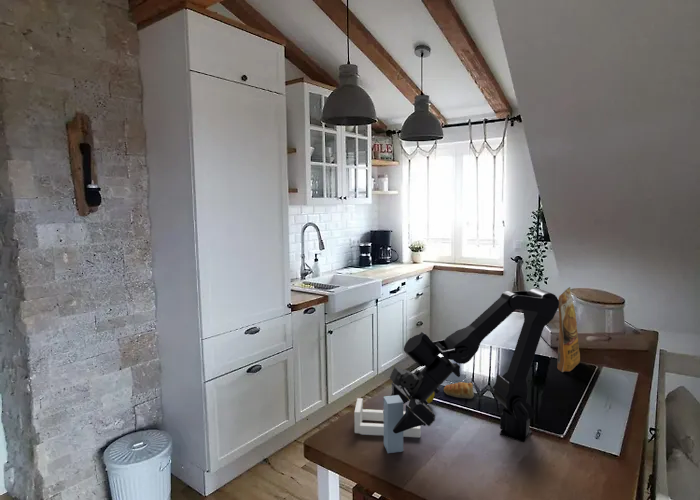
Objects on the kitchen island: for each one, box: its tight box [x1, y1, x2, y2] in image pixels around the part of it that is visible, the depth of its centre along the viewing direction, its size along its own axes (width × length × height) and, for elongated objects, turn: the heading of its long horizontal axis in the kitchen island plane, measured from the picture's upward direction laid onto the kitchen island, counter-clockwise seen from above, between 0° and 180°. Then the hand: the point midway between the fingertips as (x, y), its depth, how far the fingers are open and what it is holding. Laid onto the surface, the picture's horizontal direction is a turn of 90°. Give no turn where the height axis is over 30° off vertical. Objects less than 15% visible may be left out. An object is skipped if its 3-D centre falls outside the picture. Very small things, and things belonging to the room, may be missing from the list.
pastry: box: [443, 381, 475, 399], centre depth 143 cm, size 9×7×4 cm
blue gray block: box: [383, 395, 404, 454], centre depth 112 cm, size 4×4×13 cm
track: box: [353, 397, 422, 438], centre depth 123 cm, size 18×9×6 cm, turn 83°
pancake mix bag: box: [556, 286, 581, 373], centre depth 163 cm, size 7×19×28 cm, turn 137°
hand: (388, 422), depth 112 cm, fingers open, 9 cm apart
